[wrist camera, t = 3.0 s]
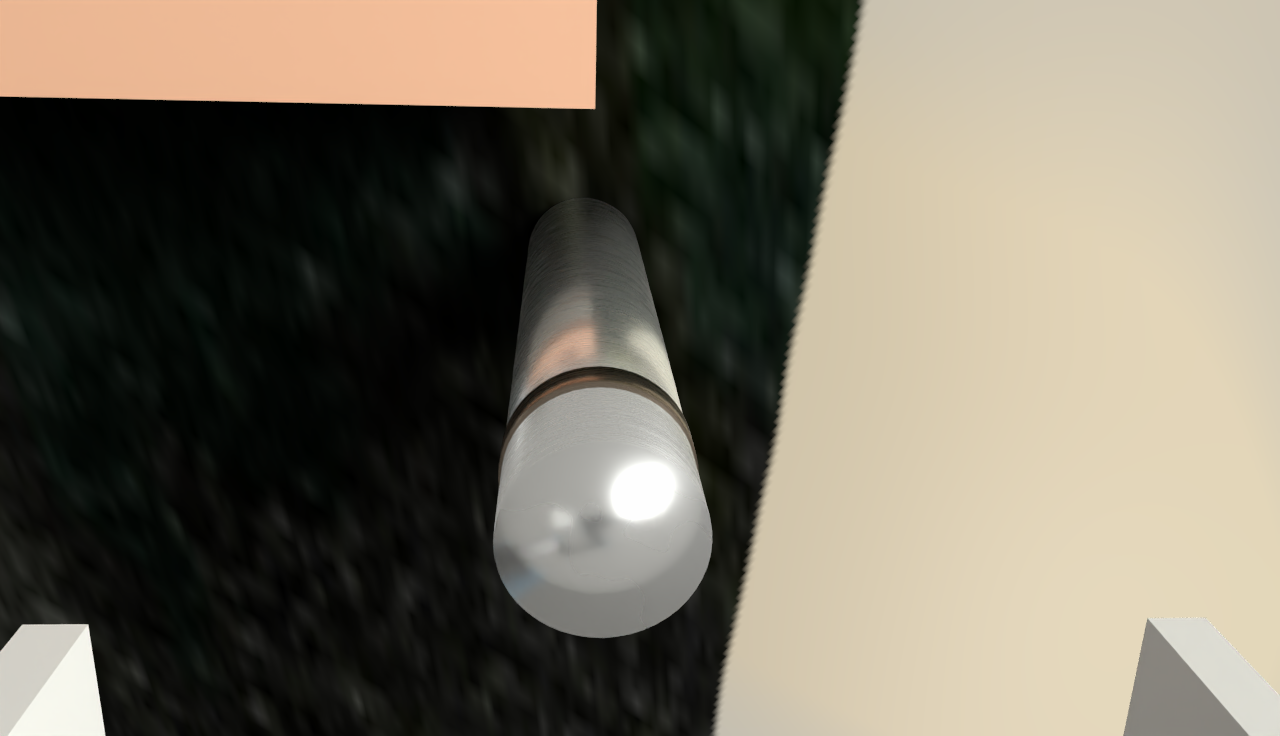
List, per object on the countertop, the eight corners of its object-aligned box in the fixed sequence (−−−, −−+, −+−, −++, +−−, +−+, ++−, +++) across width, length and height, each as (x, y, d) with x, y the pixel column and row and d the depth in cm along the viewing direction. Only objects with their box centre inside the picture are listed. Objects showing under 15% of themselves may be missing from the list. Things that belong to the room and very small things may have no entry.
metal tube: (638, 306, 38) (710, 638, 20) (526, 305, 38) (491, 641, 19) (641, 197, 37) (720, 439, 18) (526, 195, 37) (488, 438, 18)
